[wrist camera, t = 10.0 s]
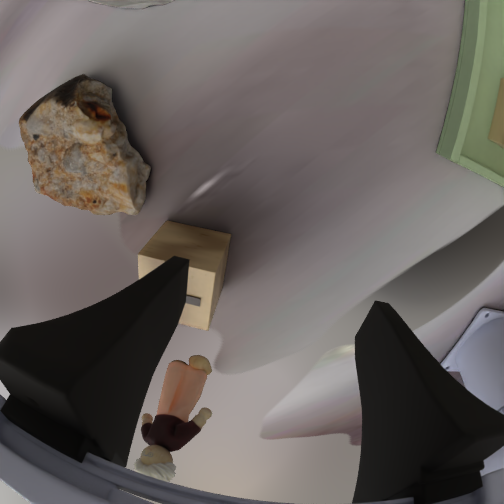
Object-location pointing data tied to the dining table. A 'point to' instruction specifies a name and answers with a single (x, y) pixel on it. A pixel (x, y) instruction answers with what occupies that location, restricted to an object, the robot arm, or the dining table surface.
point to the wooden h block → (498, 118)
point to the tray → (476, 92)
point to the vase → (131, 3)
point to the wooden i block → (191, 266)
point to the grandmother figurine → (173, 417)
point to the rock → (83, 150)
